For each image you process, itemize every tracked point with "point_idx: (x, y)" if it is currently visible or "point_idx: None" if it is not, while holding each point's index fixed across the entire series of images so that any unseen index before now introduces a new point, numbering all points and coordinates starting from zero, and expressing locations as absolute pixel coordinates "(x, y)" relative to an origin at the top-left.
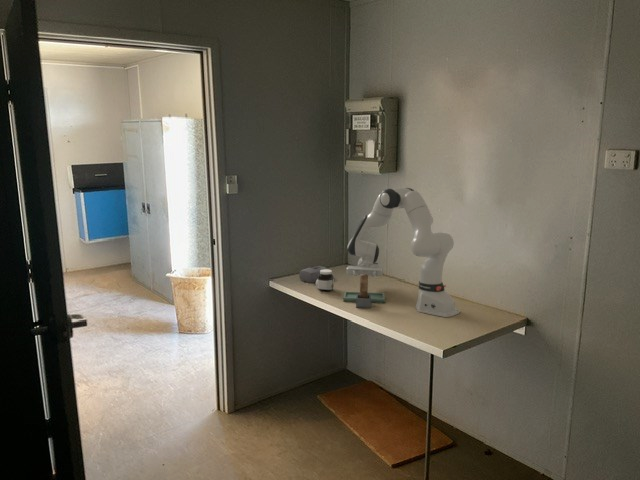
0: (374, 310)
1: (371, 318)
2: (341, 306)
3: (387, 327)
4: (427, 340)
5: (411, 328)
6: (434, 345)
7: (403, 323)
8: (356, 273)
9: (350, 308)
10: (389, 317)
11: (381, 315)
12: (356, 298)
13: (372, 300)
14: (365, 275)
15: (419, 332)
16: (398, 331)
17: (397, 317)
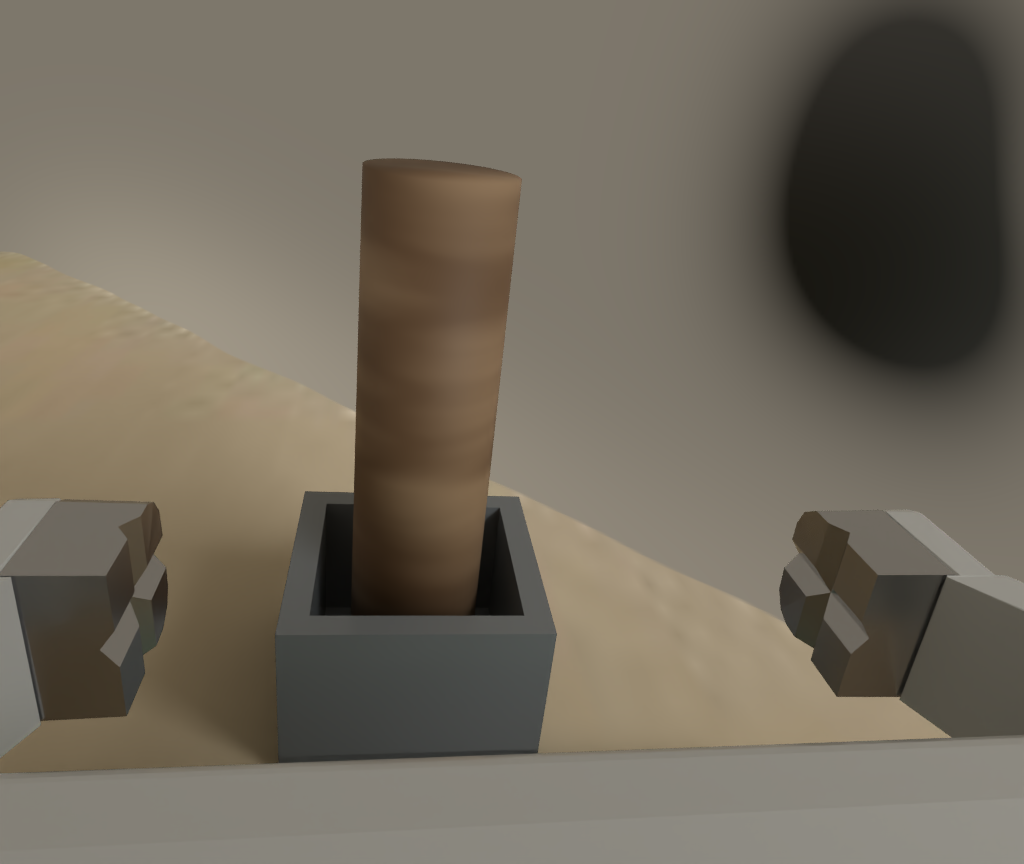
0: (264, 559)
1: (324, 431)
2: (699, 629)
3: (223, 353)
4: (34, 281)
5: (45, 344)
6: (29, 263)
7: (64, 382)
8: (807, 520)
9: (566, 586)
10: (142, 446)
11: (212, 472)
12: (514, 497)
13: None
14: (413, 164)
15: (21, 318)
16: (164, 327)
17: (55, 447)
